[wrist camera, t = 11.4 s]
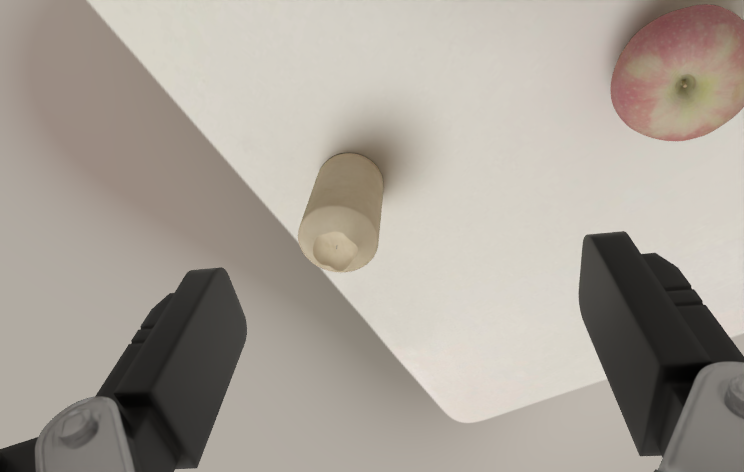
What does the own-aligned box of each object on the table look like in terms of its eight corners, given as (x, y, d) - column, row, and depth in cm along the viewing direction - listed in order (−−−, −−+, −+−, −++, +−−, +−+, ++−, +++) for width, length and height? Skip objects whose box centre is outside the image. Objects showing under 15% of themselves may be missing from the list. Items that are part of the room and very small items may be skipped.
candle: (378, 147, 39) (369, 212, 31) (388, 207, 42) (383, 281, 34) (310, 156, 40) (284, 222, 32) (325, 214, 43) (304, 289, 34)
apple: (659, -30, 31) (727, -14, 25) (741, 37, 33) (825, 70, 26) (569, 77, 35) (606, 117, 29) (647, 132, 37) (698, 182, 30)
